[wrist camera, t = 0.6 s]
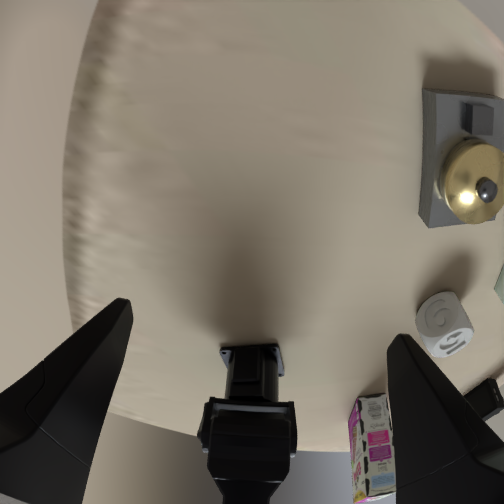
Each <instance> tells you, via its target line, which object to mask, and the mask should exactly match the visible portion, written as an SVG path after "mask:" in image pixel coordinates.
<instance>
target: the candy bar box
mask: <svg viewBox="0 0 504 504" xmlns="http://www.w3.org/2000/svg"><path fill="white" fill-rule="evenodd" d="M348 428H349V439H350V450H351V464H352V480H353V481H352V482H353V503H361V502H368V501H373V500H378V499H382V498H384V497H386V496H389V495H391V494H394V493H396V475H395V455H394V441H393V432H392V427H391V420H390V414H389V409H388V403H387V398H386V394H379V395H372V396H364V397H358V398H357V400H356V403H355V406H354V409H353V411H352V414H351V416H350V419H349V421H348Z"/></svg>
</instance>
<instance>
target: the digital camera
mask: <svg viewBox="0 0 504 504" xmlns="http://www.w3.org/2000/svg"><path fill="white" fill-rule="evenodd" d="M463 397H464V398H465V399H466V401H467V402H468V403H469V404H470V405H471V407H472V408H473V409H474V410H475V411H476V413H477V414H478V415H479V416H480V417H481V418H482V419H483V420H484V422H485V421H486V420H488V419H489V418H491V417H492V416H494V415H496V414H498V413H499V412H500V411H501V410H503V409H504V399H503V397H502V396H501V394H500V391H499V388H498V385H497V382H496V380H495V379H488V378H487V379H486V380H485V381H483V382H482V383H481V384H479V385H478V386H477V387H475V388H474V389H473V390H471V391H470V392H469V393H467V394H466V395H465V396H463Z"/></svg>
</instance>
